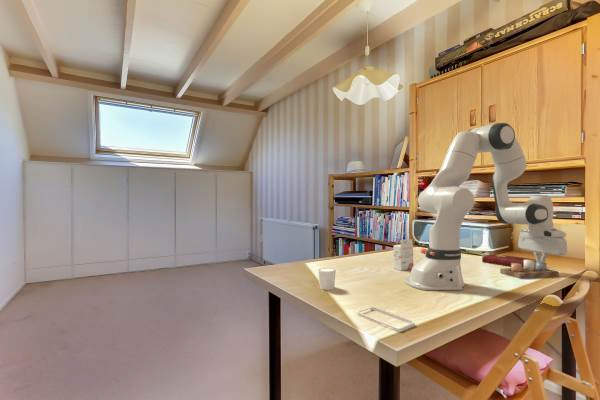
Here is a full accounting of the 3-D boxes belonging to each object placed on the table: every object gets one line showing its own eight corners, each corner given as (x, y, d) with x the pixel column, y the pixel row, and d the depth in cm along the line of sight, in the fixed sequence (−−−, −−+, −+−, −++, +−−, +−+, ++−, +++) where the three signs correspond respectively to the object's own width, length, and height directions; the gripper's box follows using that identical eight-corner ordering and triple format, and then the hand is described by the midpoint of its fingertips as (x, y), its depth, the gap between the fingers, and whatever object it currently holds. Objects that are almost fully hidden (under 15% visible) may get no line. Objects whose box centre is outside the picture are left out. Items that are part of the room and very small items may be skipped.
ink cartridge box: (405, 266, 152) (405, 237, 152) (413, 268, 148) (413, 238, 148) (393, 268, 148) (393, 238, 148) (400, 270, 144) (400, 240, 144)
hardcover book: (527, 270, 143) (527, 262, 143) (482, 263, 161) (481, 255, 161) (538, 267, 150) (538, 259, 150) (493, 260, 167) (493, 252, 167)
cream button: (529, 271, 132) (529, 261, 132) (521, 269, 136) (521, 259, 136) (536, 271, 133) (536, 261, 133) (528, 269, 137) (528, 259, 137)
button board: (519, 278, 128) (519, 273, 128) (500, 272, 138) (500, 268, 138) (558, 276, 131) (558, 271, 131) (537, 270, 141) (537, 266, 141)
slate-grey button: (541, 273, 134) (541, 263, 134) (533, 271, 137) (533, 261, 137) (548, 273, 134) (548, 263, 134) (540, 271, 138) (540, 261, 138)
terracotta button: (516, 275, 131) (516, 265, 131) (509, 273, 135) (508, 263, 135) (523, 274, 132) (523, 264, 132) (516, 272, 136) (516, 262, 136)
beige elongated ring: (415, 327, 82) (372, 310, 94) (415, 322, 82) (372, 306, 94) (398, 334, 78) (356, 316, 90) (398, 329, 78) (356, 311, 90)
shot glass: (321, 291, 113) (321, 272, 113) (315, 286, 120) (315, 268, 120) (338, 289, 115) (338, 271, 115) (332, 284, 122) (331, 267, 122)
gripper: (514, 229, 145) (514, 257, 145) (557, 233, 125) (557, 267, 125) (525, 228, 146) (525, 257, 146) (570, 233, 126) (570, 266, 126)
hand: (540, 261), depth 136 cm, fingers closed
